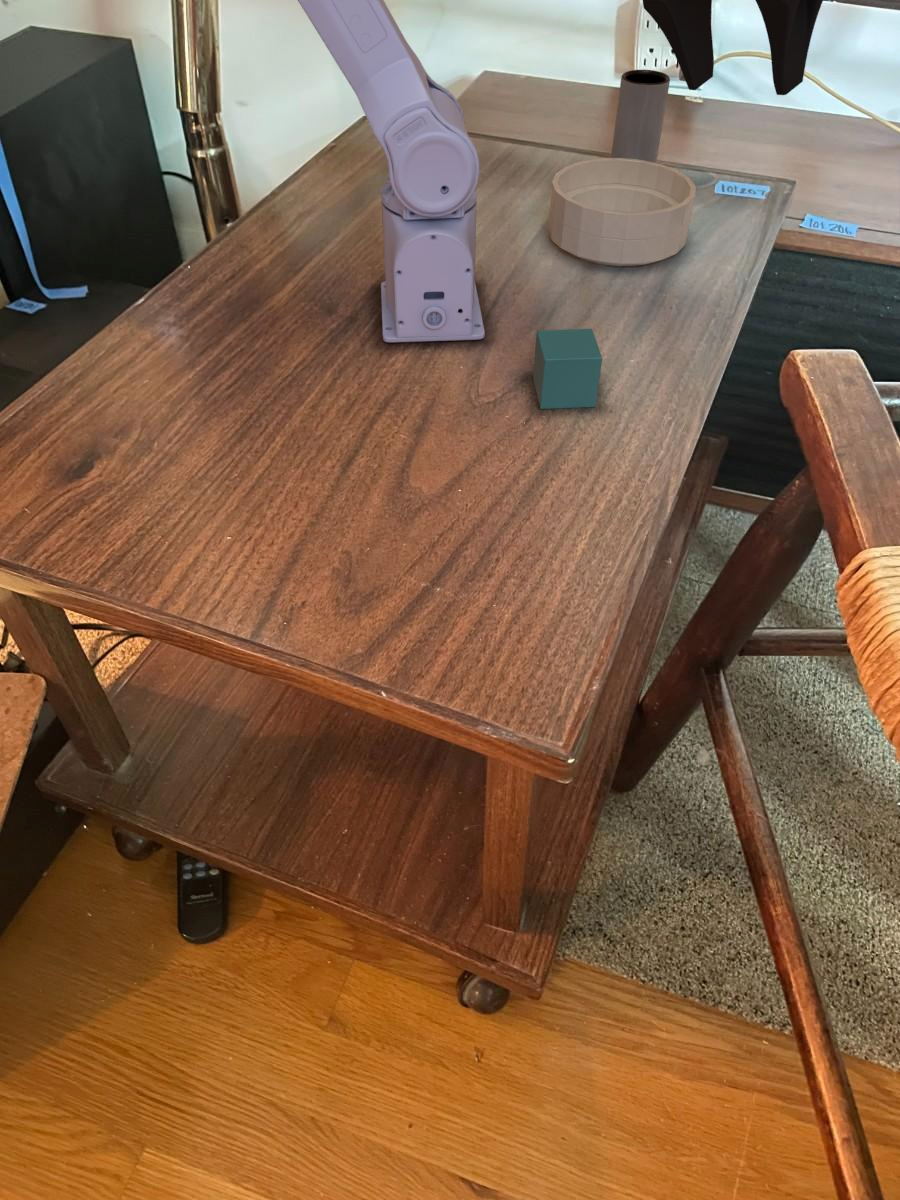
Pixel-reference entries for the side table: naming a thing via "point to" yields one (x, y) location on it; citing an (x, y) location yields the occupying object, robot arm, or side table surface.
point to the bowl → (620, 211)
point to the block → (566, 368)
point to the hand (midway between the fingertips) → (743, 85)
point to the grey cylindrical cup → (640, 115)
